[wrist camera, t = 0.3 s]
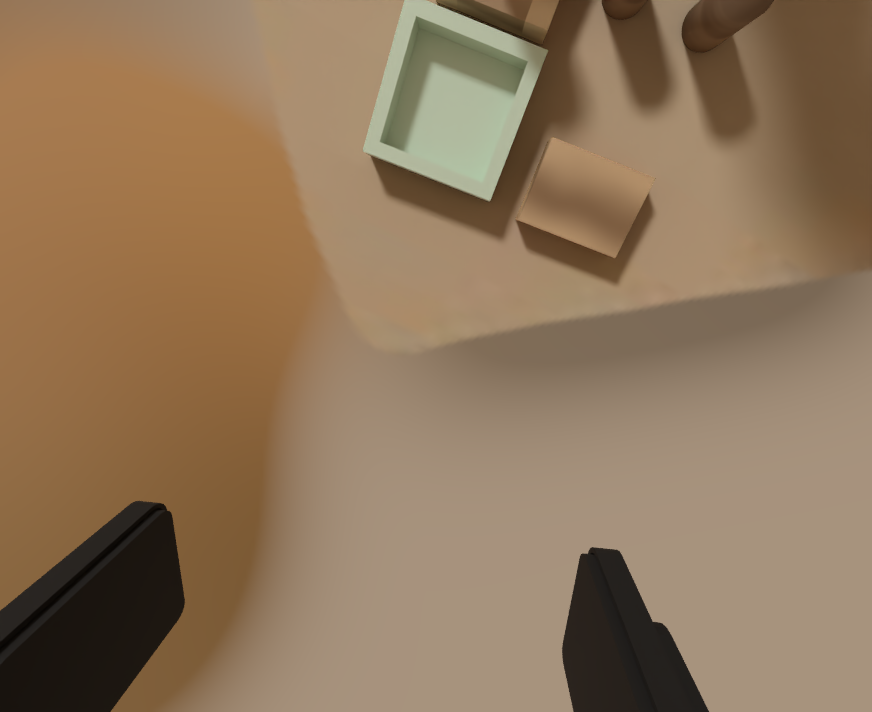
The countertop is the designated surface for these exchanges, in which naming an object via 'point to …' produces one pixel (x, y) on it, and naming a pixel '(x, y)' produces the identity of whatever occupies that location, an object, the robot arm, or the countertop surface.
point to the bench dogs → (701, 19)
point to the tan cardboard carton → (584, 197)
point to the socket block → (510, 15)
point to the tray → (452, 98)
